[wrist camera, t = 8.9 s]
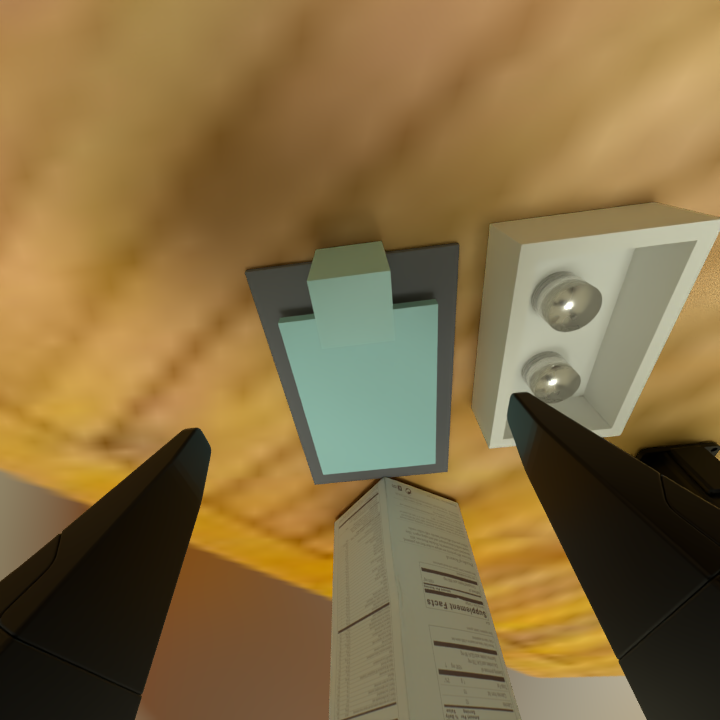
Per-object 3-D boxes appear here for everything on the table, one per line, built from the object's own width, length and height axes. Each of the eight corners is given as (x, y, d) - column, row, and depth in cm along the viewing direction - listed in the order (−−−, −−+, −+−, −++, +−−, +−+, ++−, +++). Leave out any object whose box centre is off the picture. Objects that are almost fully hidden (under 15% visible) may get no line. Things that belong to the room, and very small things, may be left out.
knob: (558, 381, 23) (574, 401, 22) (518, 386, 23) (531, 405, 22) (568, 348, 22) (586, 366, 20) (524, 353, 22) (539, 372, 20)
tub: (584, 395, 25) (620, 435, 22) (471, 407, 26) (489, 448, 22) (654, 201, 17) (725, 218, 14) (489, 223, 18) (521, 244, 14)
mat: (446, 467, 30) (447, 471, 29) (315, 480, 30) (314, 484, 30) (457, 242, 18) (459, 244, 18) (246, 269, 19) (244, 272, 19)
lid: (432, 450, 28) (445, 501, 24) (324, 461, 28) (320, 512, 24) (433, 234, 18) (456, 262, 14) (265, 256, 18) (243, 289, 14)
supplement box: (403, 541, 37) (435, 786, 24) (332, 521, 34) (321, 790, 20) (461, 501, 32) (543, 777, 19) (384, 473, 29) (416, 781, 16)
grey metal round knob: (573, 313, 20) (593, 329, 18) (527, 318, 20) (542, 334, 19) (586, 268, 19) (609, 281, 17) (535, 274, 19) (553, 288, 17)
